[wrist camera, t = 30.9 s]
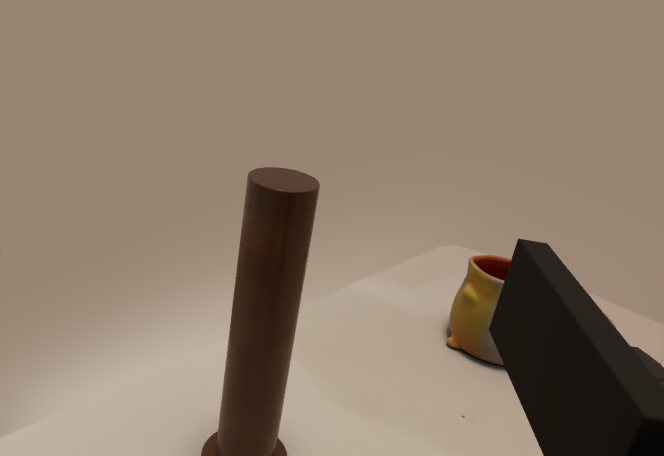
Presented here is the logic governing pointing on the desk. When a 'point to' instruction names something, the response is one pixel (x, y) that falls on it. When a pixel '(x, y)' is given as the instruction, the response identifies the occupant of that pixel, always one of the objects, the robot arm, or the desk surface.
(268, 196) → the brown cylinder rod
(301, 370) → the desk surface
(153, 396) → the desk surface
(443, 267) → the desk surface
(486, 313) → the mug
